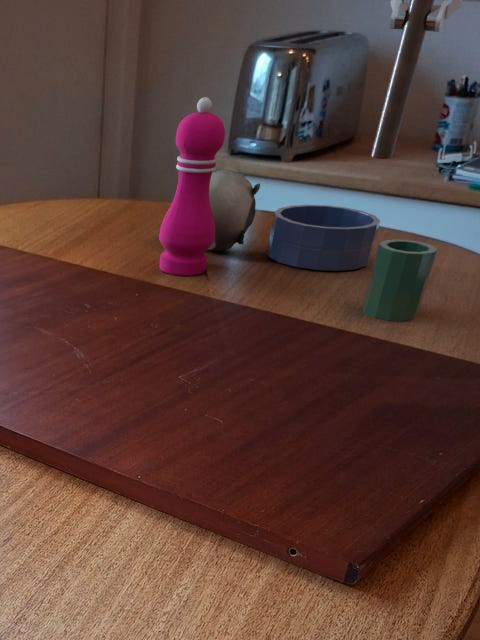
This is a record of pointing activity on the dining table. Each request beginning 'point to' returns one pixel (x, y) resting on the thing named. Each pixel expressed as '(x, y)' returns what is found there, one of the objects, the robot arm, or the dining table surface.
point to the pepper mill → (192, 194)
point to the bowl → (322, 237)
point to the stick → (401, 78)
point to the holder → (398, 280)
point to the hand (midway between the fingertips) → (414, 26)
